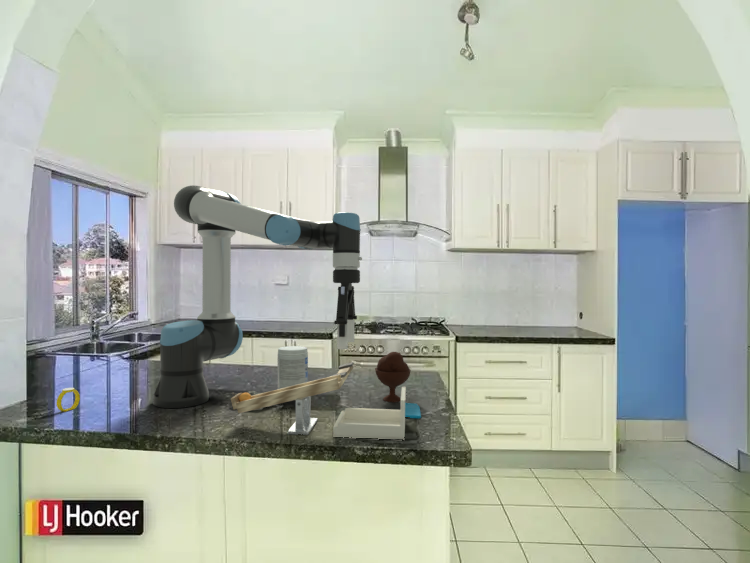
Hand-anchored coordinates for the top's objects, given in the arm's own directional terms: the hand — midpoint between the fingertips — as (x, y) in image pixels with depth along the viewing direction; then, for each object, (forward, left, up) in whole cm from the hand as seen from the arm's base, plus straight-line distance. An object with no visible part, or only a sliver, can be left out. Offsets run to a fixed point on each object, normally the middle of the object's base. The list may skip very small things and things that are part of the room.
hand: (346, 345), depth 126 cm
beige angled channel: (-12, -3, -12) cm, 17 cm away
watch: (-76, -8, -19) cm, 78 cm away
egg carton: (-28, +3, -19) cm, 34 cm away
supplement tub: (-20, +17, -19) cm, 32 cm away
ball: (-23, -14, -12) cm, 30 cm away
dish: (+8, -14, -19) cm, 25 cm away
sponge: (+18, +3, -19) cm, 27 cm away
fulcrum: (-9, -14, -19) cm, 25 cm away
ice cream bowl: (+12, +14, -19) cm, 27 cm away
